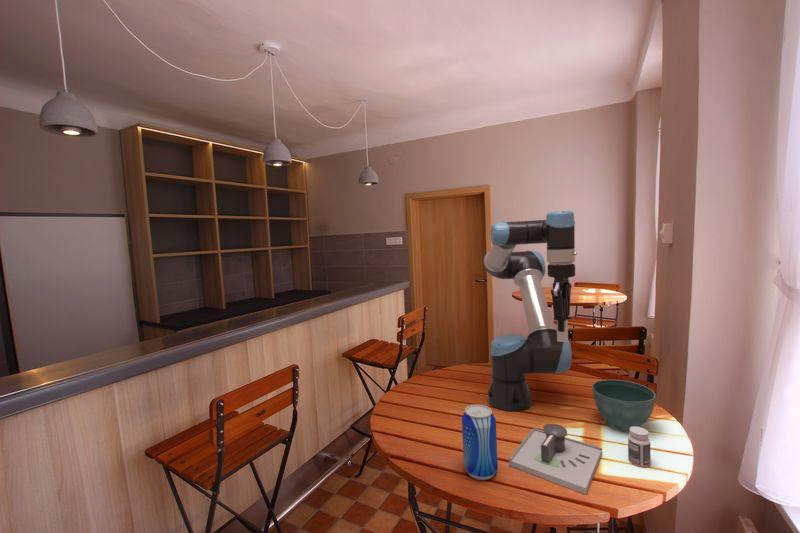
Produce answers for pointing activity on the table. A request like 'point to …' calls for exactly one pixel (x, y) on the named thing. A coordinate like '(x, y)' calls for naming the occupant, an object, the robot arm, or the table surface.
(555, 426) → the tuner knob
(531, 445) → the tuner board
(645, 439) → the pill bottle
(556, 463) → the green curved panel
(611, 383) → the flower pot
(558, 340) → the robot arm
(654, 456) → the table surface
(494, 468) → the beer can
